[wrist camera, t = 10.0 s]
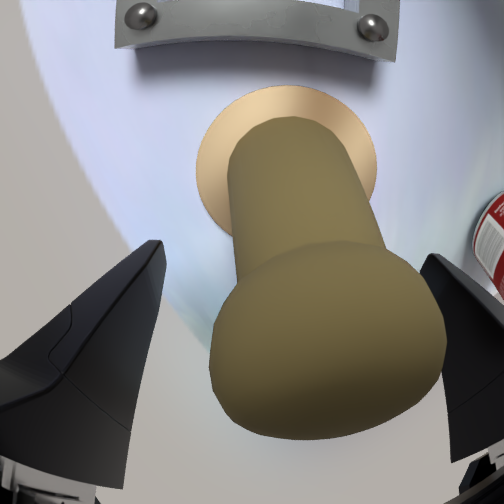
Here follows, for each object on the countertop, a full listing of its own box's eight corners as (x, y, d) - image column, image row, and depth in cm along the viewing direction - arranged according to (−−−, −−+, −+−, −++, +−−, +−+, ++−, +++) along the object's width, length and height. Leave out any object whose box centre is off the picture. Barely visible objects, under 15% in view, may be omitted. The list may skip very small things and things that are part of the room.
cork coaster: (388, 103, 10) (392, 105, 10) (351, 249, 16) (353, 255, 16) (196, 81, 10) (194, 82, 10) (201, 242, 16) (200, 247, 15)
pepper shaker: (356, 214, 14) (438, 420, 5) (249, 240, 15) (242, 457, 7) (338, 103, 10) (544, 289, 2) (208, 137, 11) (97, 385, 3)
